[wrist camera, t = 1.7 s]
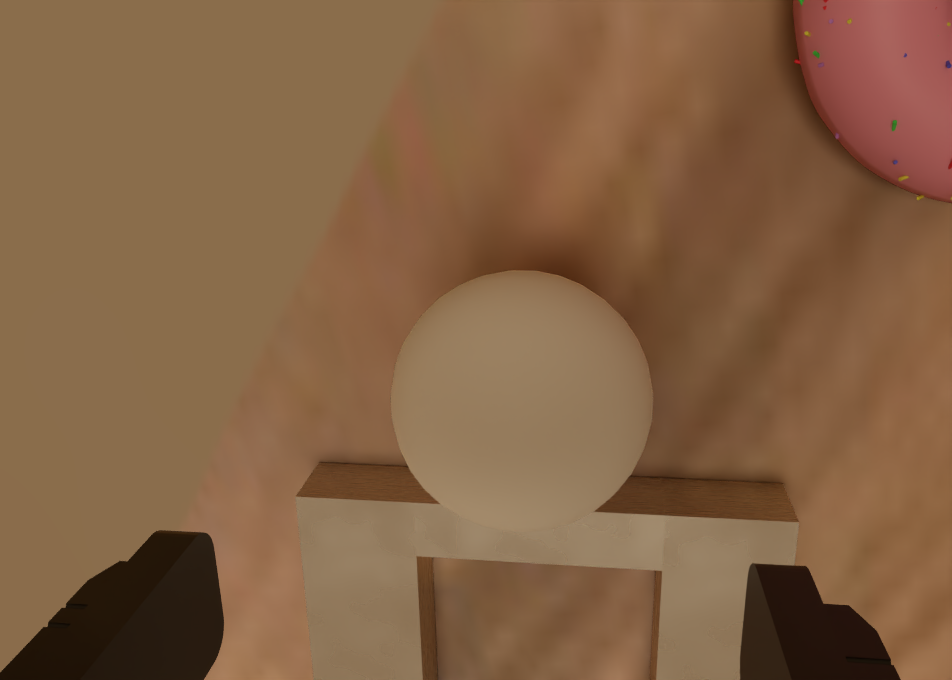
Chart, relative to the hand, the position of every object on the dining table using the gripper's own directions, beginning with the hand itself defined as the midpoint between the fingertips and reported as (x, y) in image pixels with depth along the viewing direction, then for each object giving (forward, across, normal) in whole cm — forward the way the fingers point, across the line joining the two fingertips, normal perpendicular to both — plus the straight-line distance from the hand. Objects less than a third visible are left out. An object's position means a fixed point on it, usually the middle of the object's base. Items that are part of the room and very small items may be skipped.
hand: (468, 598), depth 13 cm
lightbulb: (+16, 0, 0) cm, 16 cm away
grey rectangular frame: (+16, 0, +12) cm, 20 cm away
